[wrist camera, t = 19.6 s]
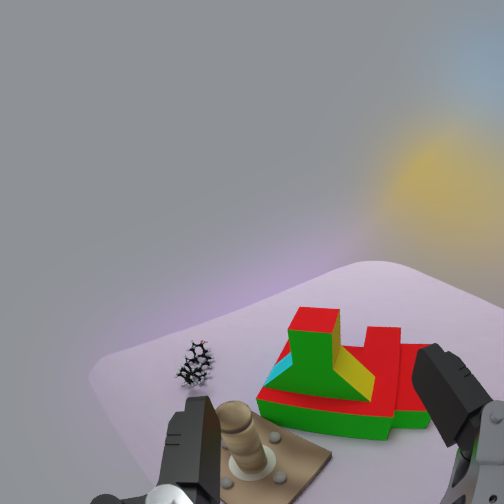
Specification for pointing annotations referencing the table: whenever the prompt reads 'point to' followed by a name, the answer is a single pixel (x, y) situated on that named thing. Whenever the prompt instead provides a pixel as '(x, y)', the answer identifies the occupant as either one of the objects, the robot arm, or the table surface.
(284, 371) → the building blocks toy
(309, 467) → the walnut base board
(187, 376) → the molecular model
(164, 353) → the table surface
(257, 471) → the oak post
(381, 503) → the table surface
